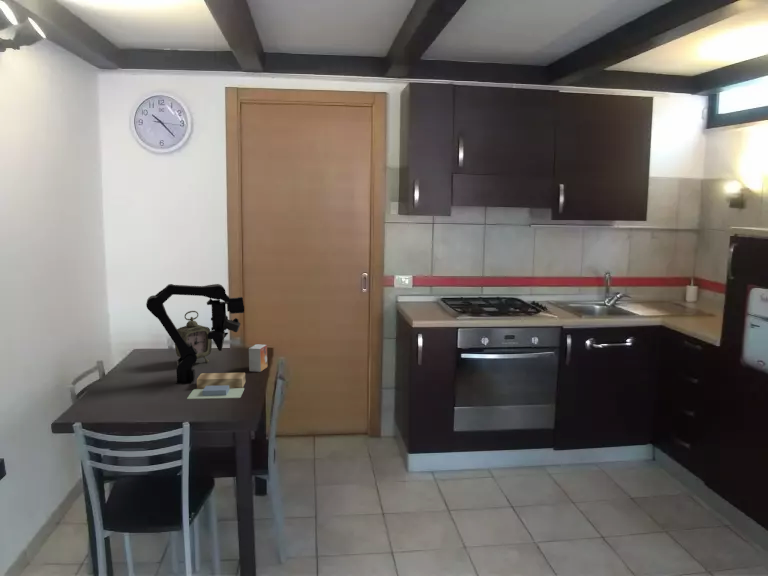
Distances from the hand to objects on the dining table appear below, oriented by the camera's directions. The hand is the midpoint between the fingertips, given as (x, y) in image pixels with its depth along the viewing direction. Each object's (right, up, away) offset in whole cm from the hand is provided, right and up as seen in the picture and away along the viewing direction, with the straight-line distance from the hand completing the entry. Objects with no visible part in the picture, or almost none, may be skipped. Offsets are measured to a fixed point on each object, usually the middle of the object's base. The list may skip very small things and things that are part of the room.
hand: (220, 350), depth 248 cm
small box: (+13, -10, +15) cm, 22 cm away
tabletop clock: (-19, -9, +22) cm, 30 cm away
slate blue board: (+3, -13, -18) cm, 22 cm away
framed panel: (+3, -13, -8) cm, 16 cm away
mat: (+4, -15, -18) cm, 24 cm away
